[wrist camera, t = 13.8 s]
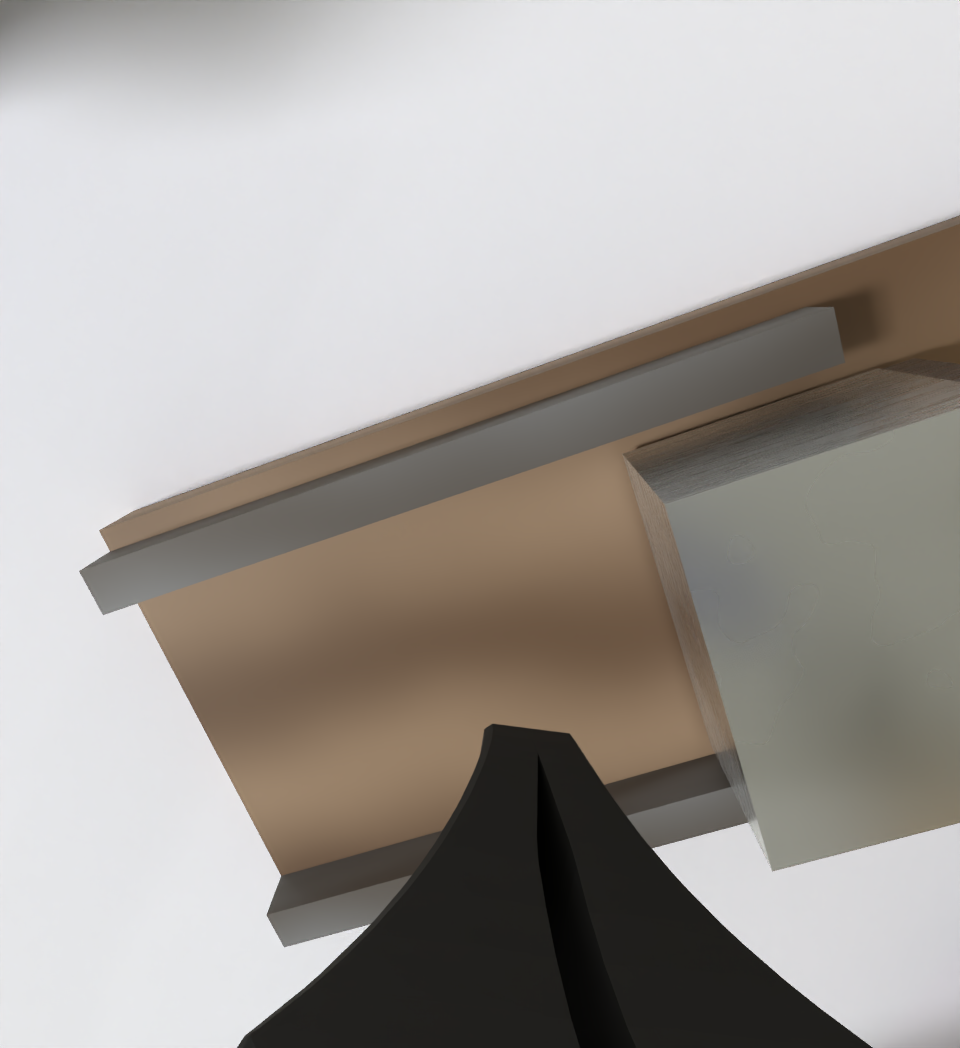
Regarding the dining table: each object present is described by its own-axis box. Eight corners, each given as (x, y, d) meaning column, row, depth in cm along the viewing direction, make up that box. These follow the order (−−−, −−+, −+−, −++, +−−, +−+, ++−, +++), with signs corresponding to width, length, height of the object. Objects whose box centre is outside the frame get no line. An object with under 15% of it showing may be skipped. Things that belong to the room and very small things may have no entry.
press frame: (133, 511, 17) (-139, 665, 10) (1232, 118, 14) (2011, -80, 7) (319, 876, 20) (217, 1203, 13) (1258, 614, 17) (1821, 842, 10)
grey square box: (622, 453, 14) (664, 505, 11) (907, 357, 14) (1057, 376, 10) (710, 744, 16) (772, 871, 13) (965, 671, 16) (1108, 783, 12)
